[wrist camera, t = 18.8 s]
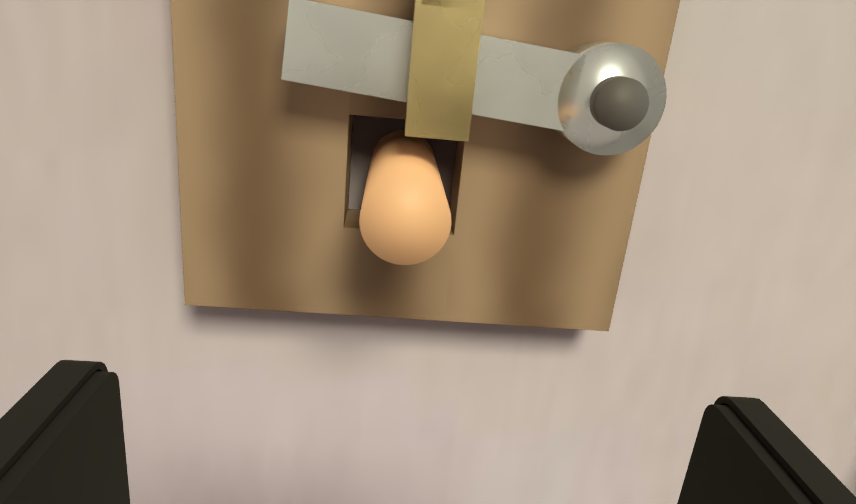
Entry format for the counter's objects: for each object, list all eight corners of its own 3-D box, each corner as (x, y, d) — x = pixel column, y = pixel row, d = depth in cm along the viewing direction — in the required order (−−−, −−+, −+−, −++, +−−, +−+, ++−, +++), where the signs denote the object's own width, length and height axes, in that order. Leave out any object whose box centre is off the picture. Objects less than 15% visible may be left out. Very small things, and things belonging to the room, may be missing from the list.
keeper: (475, -40, 25) (490, -53, 21) (457, 123, 27) (468, 141, 23) (416, -46, 25) (420, -61, 21) (403, 119, 27) (404, 136, 23)
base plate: (658, -30, 28) (736, -46, 22) (591, 305, 34) (636, 371, 27) (190, -81, 27) (124, -115, 20) (203, 280, 32) (154, 344, 26)
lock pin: (437, 133, 30) (456, 181, 21) (431, 195, 31) (446, 267, 22) (373, 127, 30) (362, 173, 21) (369, 190, 31) (356, 262, 22)
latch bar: (656, 52, 26) (680, 54, 24) (627, 152, 28) (647, 163, 26) (301, -20, 25) (291, -24, 22) (289, 91, 26) (279, 97, 24)
